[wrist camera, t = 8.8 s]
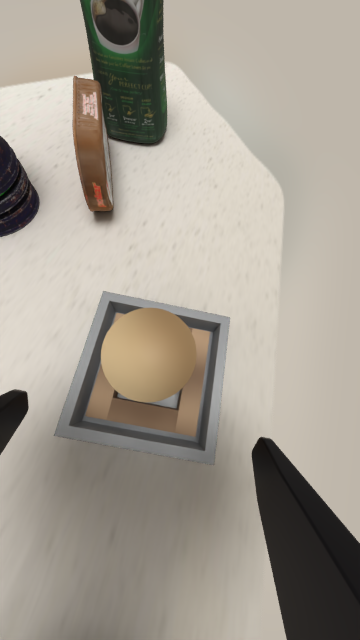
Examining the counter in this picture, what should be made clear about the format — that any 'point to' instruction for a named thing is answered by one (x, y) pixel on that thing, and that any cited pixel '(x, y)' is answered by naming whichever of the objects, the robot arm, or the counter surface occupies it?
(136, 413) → the socket block
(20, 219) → the dark blue cylinder
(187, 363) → the dowel
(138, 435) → the tray
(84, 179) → the tin
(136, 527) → the counter surface
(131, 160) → the counter surface
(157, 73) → the coffee jar
